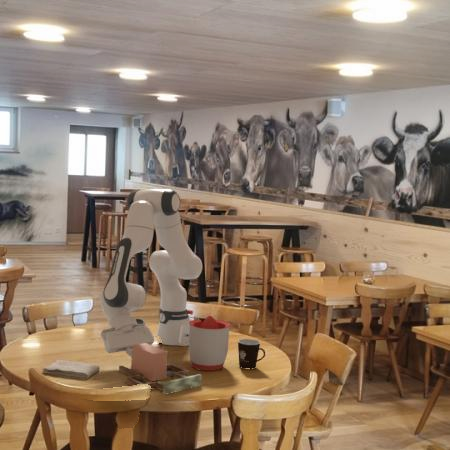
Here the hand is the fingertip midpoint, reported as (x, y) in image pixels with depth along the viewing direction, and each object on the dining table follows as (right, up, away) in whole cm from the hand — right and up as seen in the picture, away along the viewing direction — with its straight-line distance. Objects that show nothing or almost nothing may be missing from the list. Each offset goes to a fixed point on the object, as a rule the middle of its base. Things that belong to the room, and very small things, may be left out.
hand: (136, 358), depth 251 cm
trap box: (+8, -6, -8) cm, 12 cm away
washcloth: (-23, -4, -5) cm, 24 cm away
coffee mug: (+42, -6, +11) cm, 44 cm away
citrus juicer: (+26, -5, +11) cm, 28 cm away
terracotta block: (+5, -5, -5) cm, 8 cm away
